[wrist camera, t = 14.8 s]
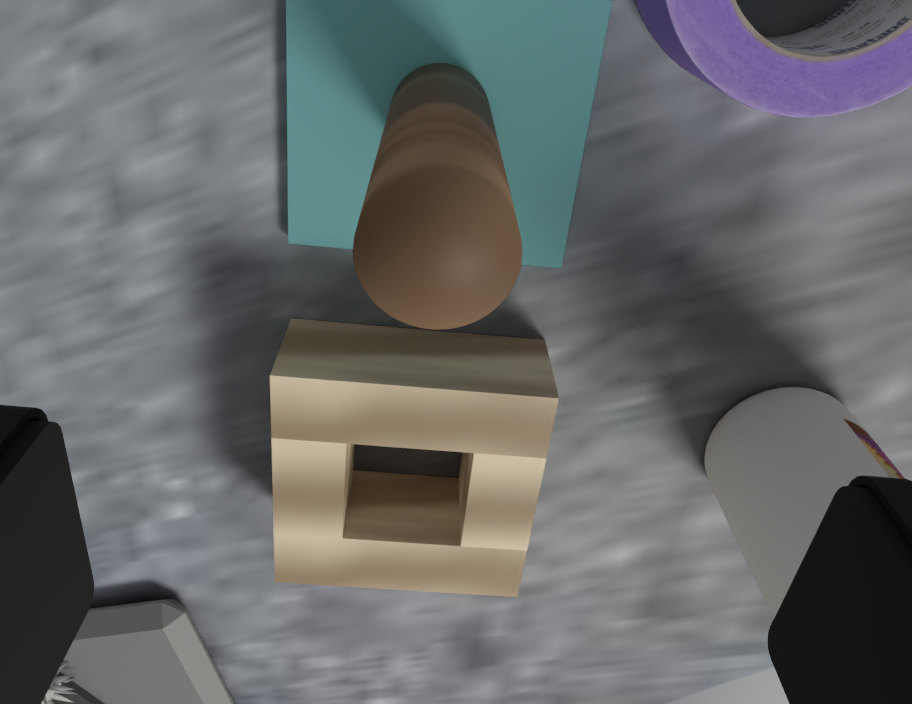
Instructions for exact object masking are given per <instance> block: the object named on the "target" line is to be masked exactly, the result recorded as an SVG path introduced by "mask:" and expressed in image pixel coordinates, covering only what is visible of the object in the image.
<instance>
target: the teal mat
mask: <svg viewBox="0 0 912 704" xmlns="http://www.w3.org/2000/svg"><path fill="white" fill-rule="evenodd" d="M611 5H612V0H286V60H287V166H288V243H289V244H300V245H311V246H322V247H333V248H344V249H353V242H354V236H355V232H356V228H357V224H358V220H359V217H360V213H361V210H362V206H363V202H364V199H365V195H366V191H367V188H368V184H369V181H370V177H371V173H372V170H373V166H374V162H375V159H376V155H377V151H378V148H379V144H380V141H381V137H382V133H383V130H384V126H385V122H386V119H387V115H388V112H389V108H390V104H391V101H392V97H393V95H394V92H395V90H396V88H397V87H398V85H399V84H400V82H401V81H402V80H403V79H404V78H405V77H406V76H407V75H408V74H409V73H411V72H412V71H413V70H415V69H417V68H419V67H421V66H424V65H427V64H431V63H447V64H452V65H455V66H458V67H460V68H463V69H465V70H466V71H468V72H469V73H470V74H472V75H473V76H474V77H475V78H476V79H477V80H478V81H479V83H480V84H481V86H482V87H483V89H484V91H485V93H486V95H487V98H488V101H489V105H490V109H491V113H492V117H493V122H494V126H495V130H496V134H497V138H498V143H499V147H500V151H501V155H502V159H503V163H504V168H505V172H506V176H507V180H508V184H509V189H510V193H511V197H512V201H513V205H514V210H515V214H516V218H517V222H518V226H519V231H520V235H521V241H522V263H521V265H530V266H541V267H552V268H561V267H562V262H563V257H564V251H565V246H566V241H567V236H568V230H569V225H570V220H571V215H572V209H573V204H574V199H575V194H576V188H577V183H578V178H579V173H580V167H581V162H582V157H583V152H584V146H585V141H586V136H587V131H588V126H589V120H590V115H591V110H592V105H593V99H594V94H595V89H596V84H597V78H598V73H599V68H600V63H601V57H602V52H603V47H604V42H605V36H606V31H607V26H608V21H609V15H610V10H611Z"/></svg>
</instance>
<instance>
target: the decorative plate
mask: <svg viewBox="0 0 912 704" xmlns="http://www.w3.org/2000/svg"><path fill="white" fill-rule="evenodd" d="M41 704H234V702H233V700H232V698H231V696H230V694H229V692H228V690H227V688H226V686H225V685H224V683H223V681H222V679H221V677H220V675H219V673H218V671H217V669H216V667H215V665H214V663H213V661H212V659H211V657H210V655H209V653H208V651H207V650H206V648H205V646H204V644H203V642H202V640H201V638H200V636H199V634H198V632H197V630H196V628H195V626H194V624H193V622H192V620H191V618H190V616H189V615H188V613H187V611H186V609H185V608H184V607H183V606H182V605H181V604H180V603H179V602H178V601H177V600H175V599H163V600H155V601H148V602H140V603H132V604H124V605H116V606H109V607H101V608H93V609H89V611H88V613H87V615H86V617H85V619H84V621H83V623H82V625H81V627H80V629H79V631H78V633H77V635H76V637H75V639H74V640H73V642H72V644H71V646H70V648H69V650H68V652H67V654H66V656H65V658H64V660H63V662H62V664H61V666H60V668H59V670H58V672H57V674H56V676H55V678H54V679H53V681H52V683H51V685H50V687H49V689H48V691H47V693H46V695H45V697H44V699H43V701H42V703H41Z"/></svg>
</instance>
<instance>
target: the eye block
mask: <svg viewBox="0 0 912 704" xmlns="http://www.w3.org/2000/svg"><path fill="white" fill-rule="evenodd" d="M558 400H559V397H558V393H557V389H556V384H555V380H554V376H553V372H552V367H551V363H550V359H549V355H548V351H547V346H546V342H545V340H541V339H529V338H517V337H505V336H493V335H482V334H470V333H458V332H446V331H434V330H423V329H411V328H399V327H387V326H375V325H364V324H352V323H340V322H328V321H316V320H305V319H293V318H291V321H290V323H289V326H288V328H287V331H286V334H285V336H284V339H283V342H282V344H281V347H280V350H279V352H278V355H277V358H276V360H275V363H274V366H273V368H272V371H271V373H270V404H271V444H272V484H273V524H274V563H275V582H283V583H299V584H315V585H331V586H347V587H363V588H379V589H396V590H412V591H428V592H444V593H460V594H476V595H492V596H508V597H517V596H518V592H519V587H520V582H521V577H522V573H523V568H524V563H525V558H526V553H527V549H528V544H529V539H530V534H531V529H532V525H533V520H534V515H535V510H536V505H537V501H538V496H539V491H540V486H541V482H542V477H543V472H544V467H545V462H546V458H547V453H548V448H549V443H550V438H551V434H552V429H553V424H554V419H555V414H556V410H557V405H558ZM355 444H358V445H371V446H385V447H398V448H412V449H425V450H439V451H452V452H462V458H461V465H460V473H459V478H454V477H440V476H426V475H412V474H399V473H385V472H371V471H357V470H354V448H355Z"/></svg>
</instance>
